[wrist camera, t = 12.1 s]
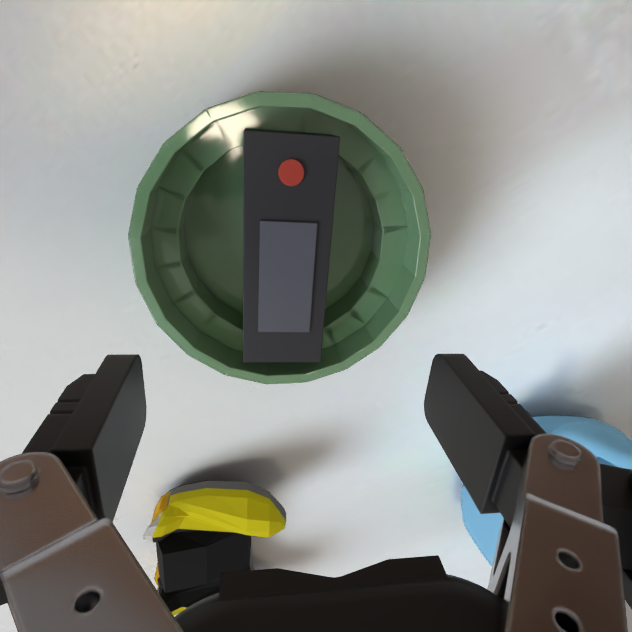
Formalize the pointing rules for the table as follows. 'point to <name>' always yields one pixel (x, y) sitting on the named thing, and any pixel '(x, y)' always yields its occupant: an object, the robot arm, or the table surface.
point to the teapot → (585, 431)
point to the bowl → (227, 235)
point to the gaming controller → (208, 536)
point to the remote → (286, 242)
